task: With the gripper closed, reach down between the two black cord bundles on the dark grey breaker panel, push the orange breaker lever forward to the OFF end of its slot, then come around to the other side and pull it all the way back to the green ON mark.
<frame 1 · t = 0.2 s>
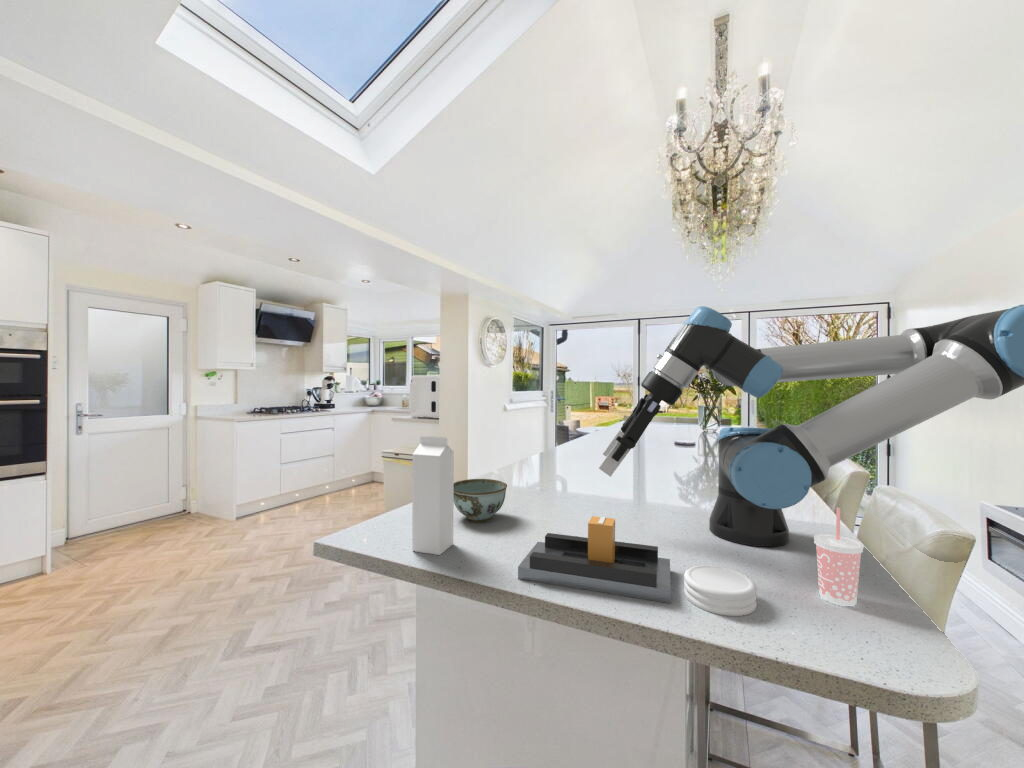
hand: (606, 464, 91), 16 cm above the countertop, tool tilted 35°, fingers open, 13 cm apart
coaster: (719, 601, 67), on the countertop
beverage cup: (837, 600, 67), on the countertop
bowl: (478, 519, 105), on the countertop
panel: (595, 574, 75), on the countertop
breaker lever: (601, 540, 75), point 6 cm above the countertop, slide at 5.0 cm
milk: (433, 548, 87), on the countertop
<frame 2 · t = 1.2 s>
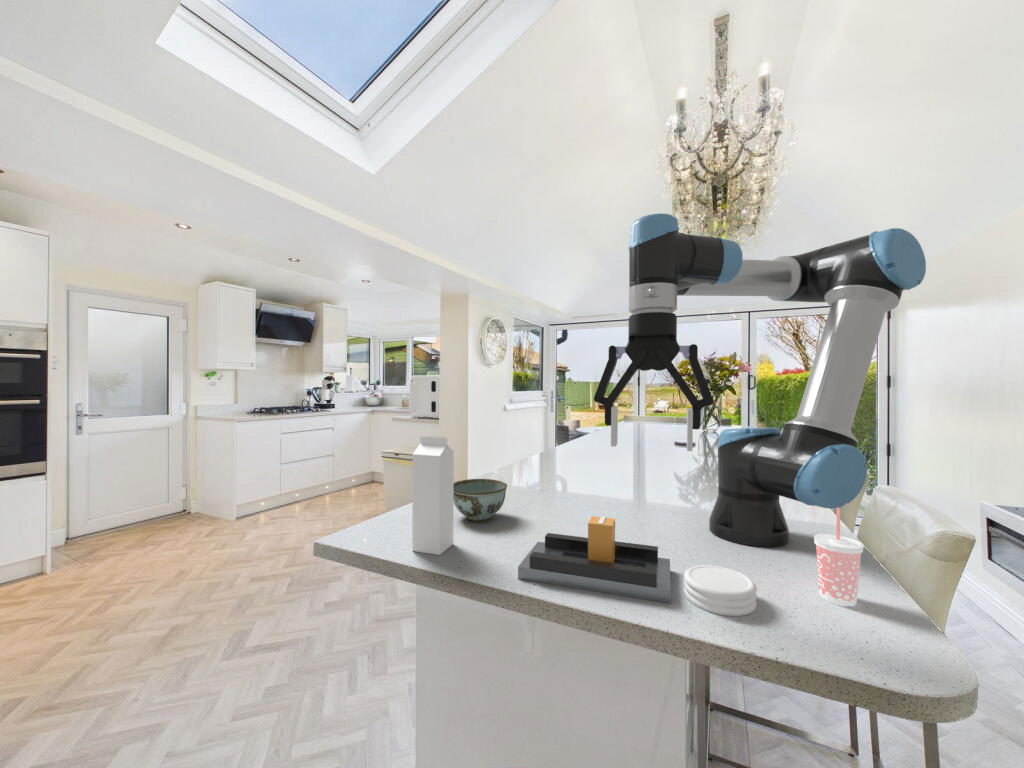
hand: (650, 447, 72), 22 cm above the countertop, tool pointing down, fingers open, 11 cm apart
nothing on the countertop moved.
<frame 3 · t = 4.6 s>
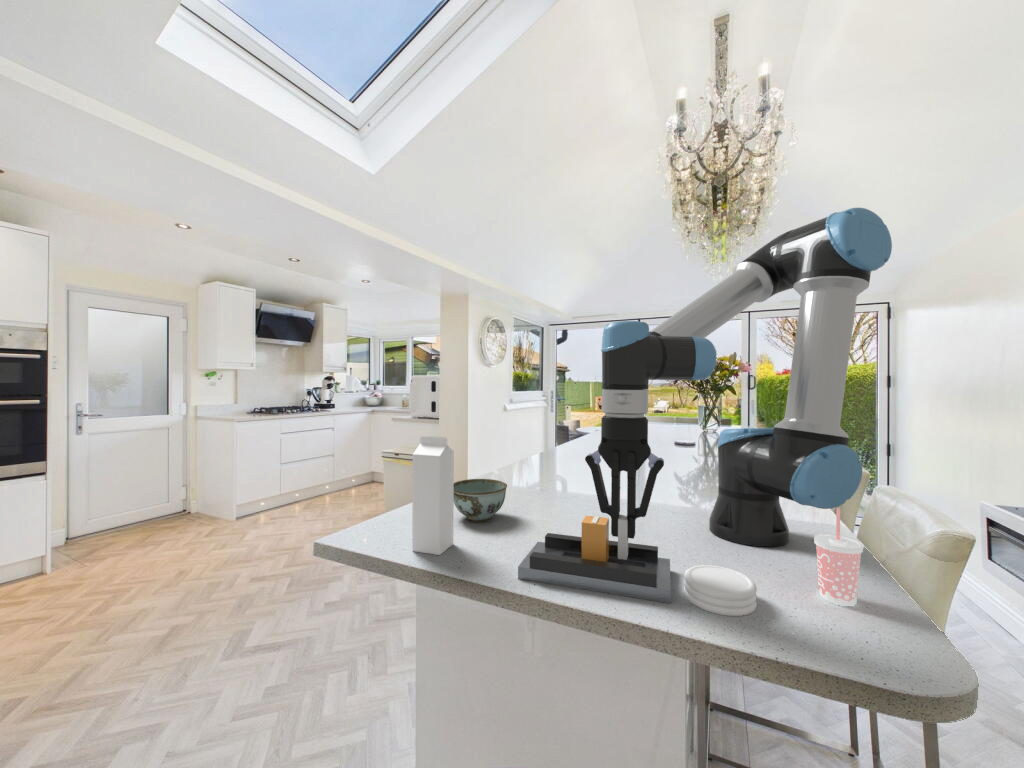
hand: (623, 555, 73), 4 cm above the countertop, tool pointing down, fingers closed
breaker lever: (595, 540, 75), point 6 cm above the countertop, slide at 6.1 cm, touching gripper
everything else where it was.
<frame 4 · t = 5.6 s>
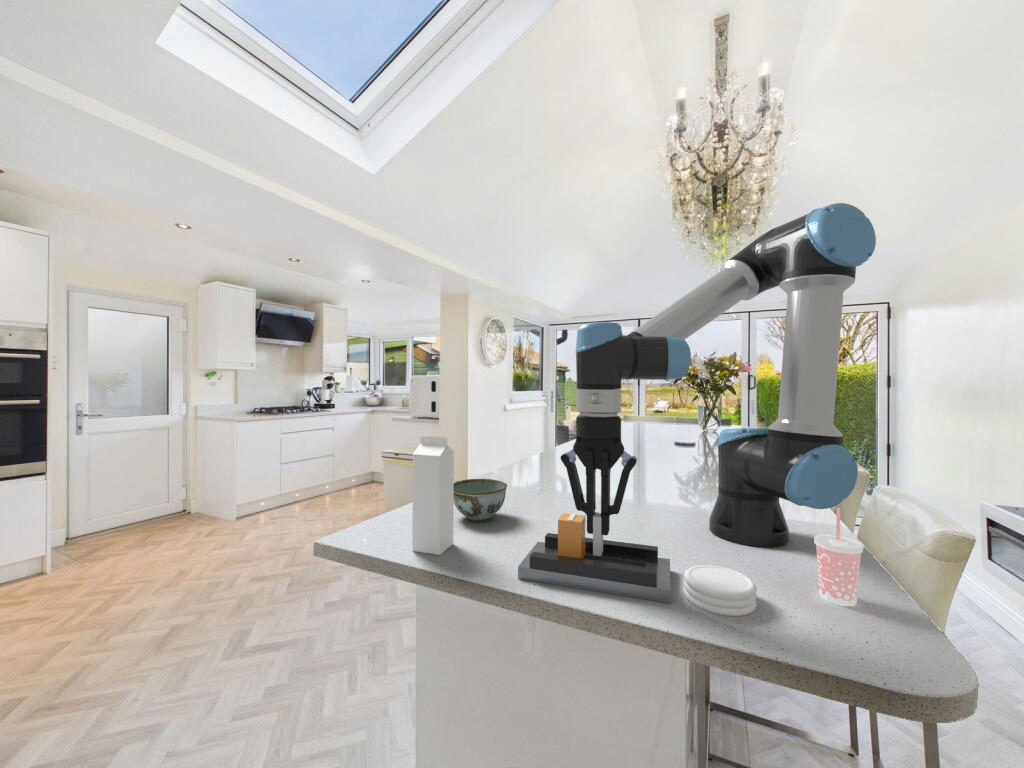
hand: (598, 552, 75), 4 cm above the countertop, tool pointing down, fingers closed
breaker lever: (571, 537, 76), point 6 cm above the countertop, slide at 10.1 cm, touching gripper
everything else where it was.
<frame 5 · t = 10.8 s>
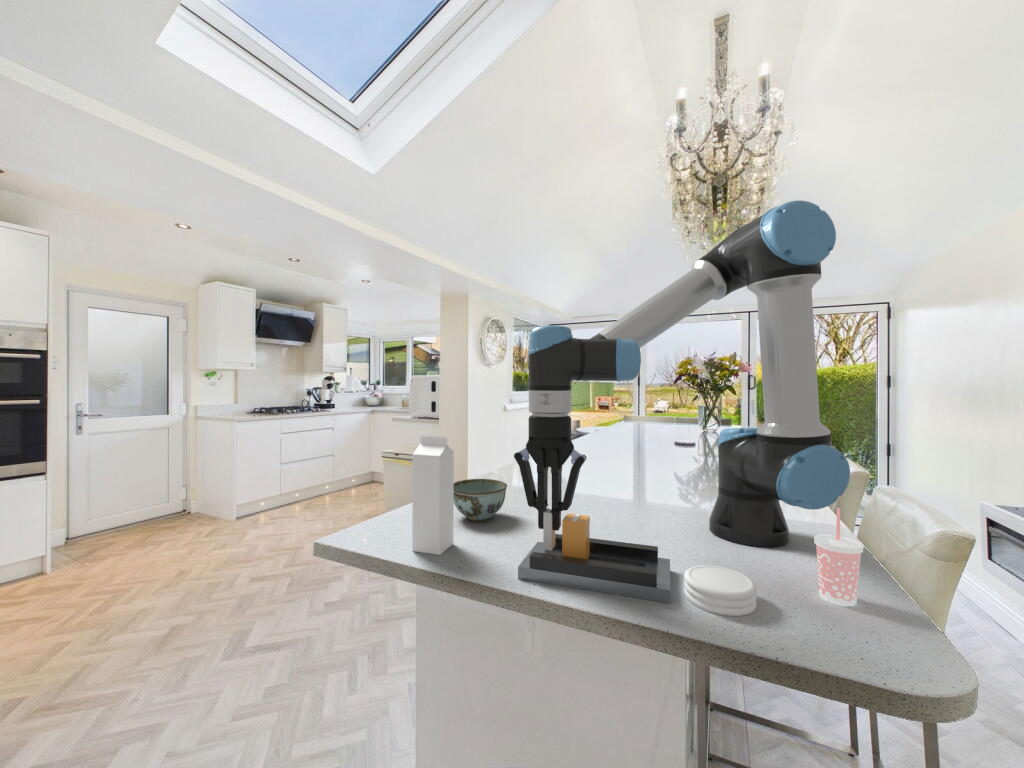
hand: (549, 547, 78), 4 cm above the countertop, tool pointing down, fingers closed
breaker lever: (576, 537, 76), point 6 cm above the countertop, slide at 9.4 cm, touching gripper
everything else where it was.
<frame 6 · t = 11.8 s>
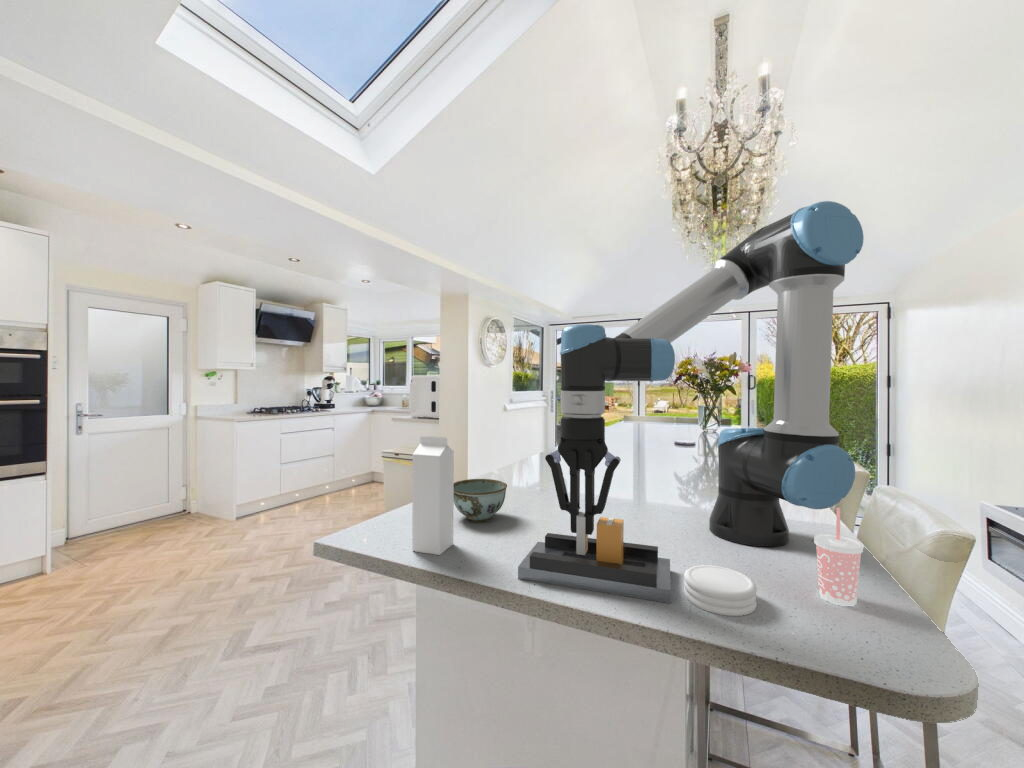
hand: (582, 551, 76), 4 cm above the countertop, tool pointing down, fingers closed
breaker lever: (610, 542, 74), point 6 cm above the countertop, slide at 3.6 cm, touching gripper
everything else where it was.
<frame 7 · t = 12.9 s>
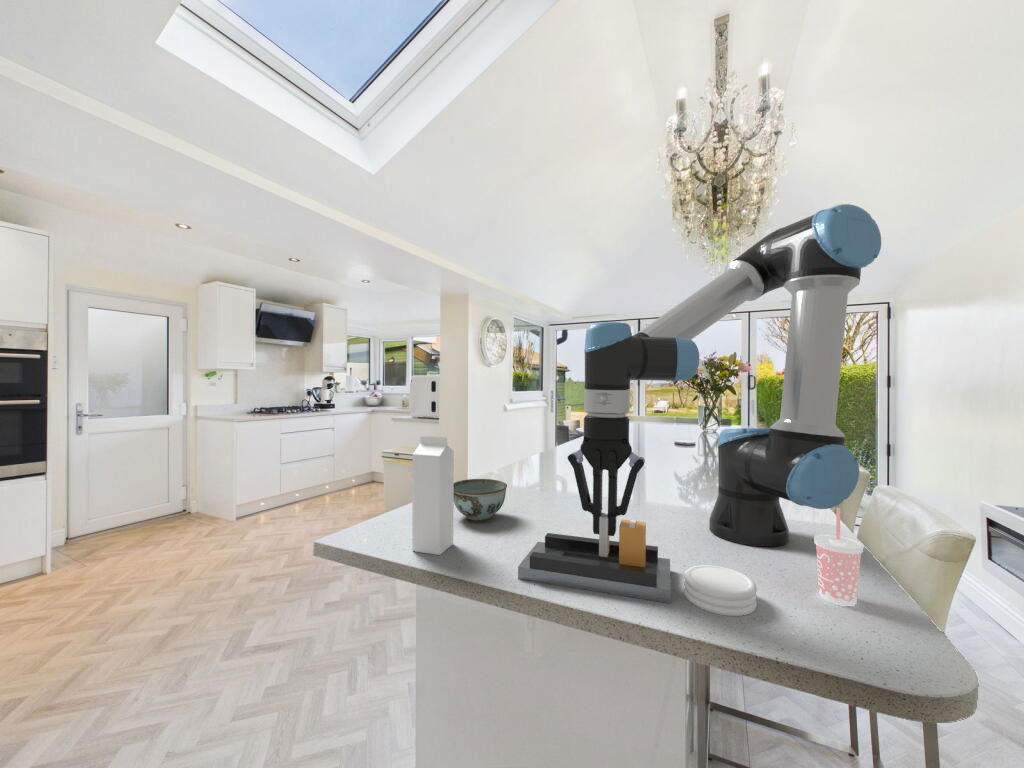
hand: (604, 553, 75), 4 cm above the countertop, tool pointing down, fingers closed
breaker lever: (632, 544, 73), point 6 cm above the countertop, slide at -0.1 cm, touching gripper
everything else where it was.
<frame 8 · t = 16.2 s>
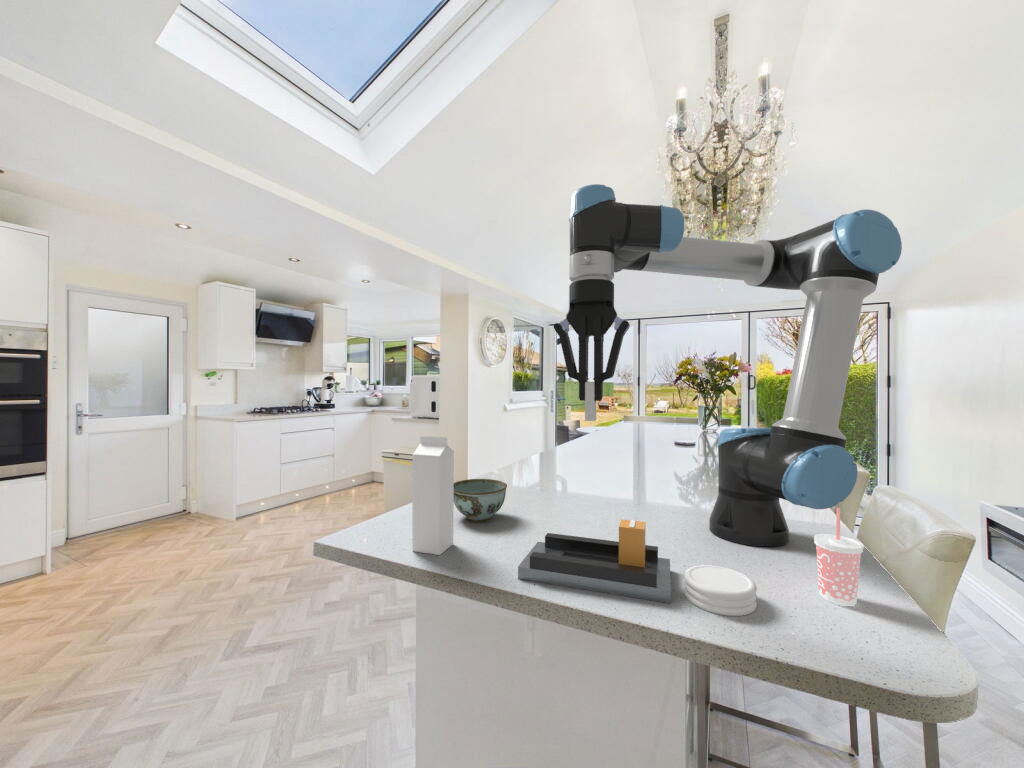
hand: (590, 420, 75), 26 cm above the countertop, tool pointing down, fingers closed
breaker lever: (632, 544, 73), point 6 cm above the countertop, slide at 0.0 cm
everything else where it was.
at the end: breaker lever slide at 0.0 cm; the gripper is holding nothing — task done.
